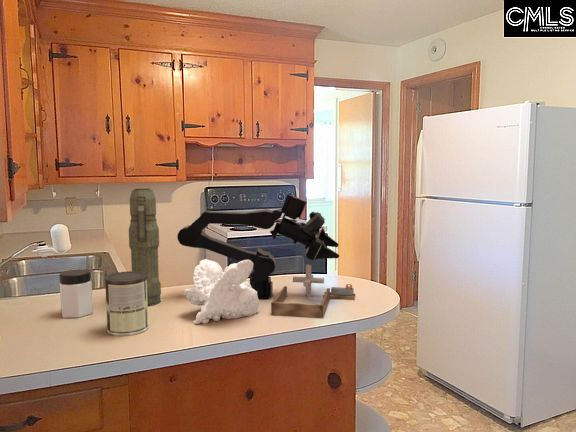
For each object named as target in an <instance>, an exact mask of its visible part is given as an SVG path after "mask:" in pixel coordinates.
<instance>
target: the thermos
mask: <svg viewBox="0 0 576 432" xmlns="http://www.w3.org/2000/svg"><path fill="white" fill-rule="evenodd" d="M129 215H130V220H129V221H130V224H129V227H128V246H129V249H130V254H131V256H130V257H131V261H130V262H131V271H138V272H144V273H146V274H147V302H148V307H151V306H156V305H158V304H160V303H161V302H162V301H161V294H162V286H161V285H162V284H161V281H160V279H159V278H160V277H159V275H160V274H159V247H160V228H159V225H158V223H157V218H156V215H157V198H156V196H155V193H154V190H153V189H151V188H134V189H133V190H131V193H130V196H129Z"/></svg>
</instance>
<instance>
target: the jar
mask: <svg viewBox="0 0 576 432" xmlns="http://www.w3.org/2000/svg"><path fill="white" fill-rule="evenodd" d="M58 275H59V276H58V277H59V278H58V279H59V290H60V291H59V293H60V294H59V295H60V310H61V315H62V318H64V319H66V318H68V319H73V318H74V319H75V318H76V319H78V318H82V317H85V316H88V315H92V314H93V313H94V309H93V291H92V290H93V289H92V288H93V287H92V286H93V285H92V272H91V270H89V269H81V268H80V269H69V270H66V271H61V272H60V273H59V274H58Z"/></svg>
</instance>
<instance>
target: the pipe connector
mask: <svg viewBox="0 0 576 432" xmlns="http://www.w3.org/2000/svg"><path fill="white" fill-rule="evenodd" d="M292 283H301V284H302V286H303V287H305V297H311V296H312V284H325V277H314V275H313V274H312V264H305V276H293V277H292Z"/></svg>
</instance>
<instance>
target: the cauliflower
mask: <svg viewBox="0 0 576 432" xmlns="http://www.w3.org/2000/svg"><path fill="white" fill-rule="evenodd" d="M198 263H199V264H197V265H196V266H195V267H194V270H193V274H192V281H193V283H192V284H193V287H189V288H186V289H184V290H183V293H184V295H185V297H186V298H187V299H188V301H189V302H190V304H192V305H195V306H201V307H200V311H198V312H197V314H196V315H195V320H193V323H194V325H199V324H201V323H202V324H207V323H209V321H210V320H213V321H215V322H218V321H220V319H221V318H222V319H226V320H231V319H238V318H239V319H240V318H241V317H248V316H249V317H250V316H254V315H256V314H257V312H258V310H259V307H260V300H259V299H258V296H257V291H255V290H254V289H252V287H251V285H250V281H249V282H248V281H247V280H248V278H250V277H249V276H251V271H252V269H253V265H254V264H253V262H252V261H251V260H243V261H238V262H237V263H236V262H235V263H234V262H233V263H231V264H229V266H226V267H225V268H224V269H223V268H222V266H221V265H220V264H219V263H218V262H217V261H214V260H209V259H207V258H205V259H201V260H199V262H198Z"/></svg>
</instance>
